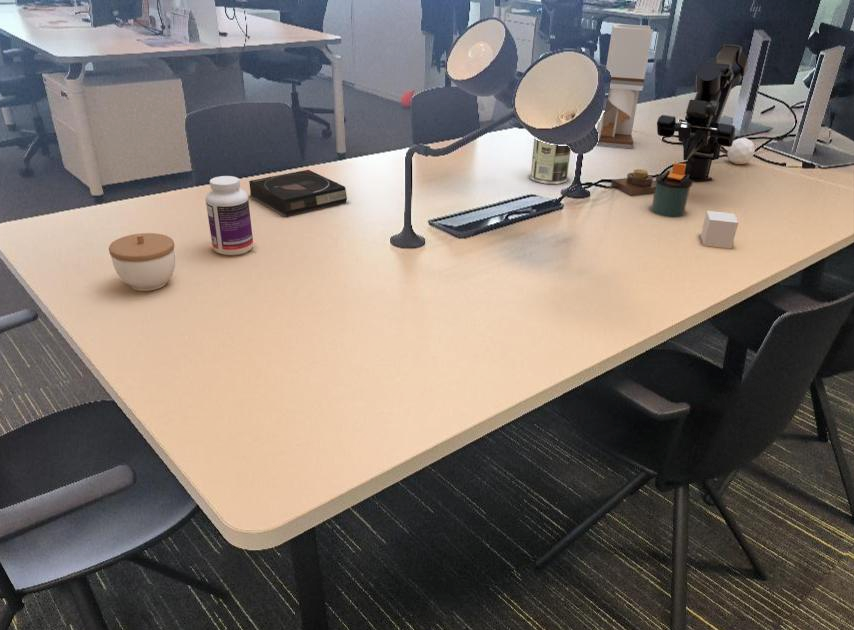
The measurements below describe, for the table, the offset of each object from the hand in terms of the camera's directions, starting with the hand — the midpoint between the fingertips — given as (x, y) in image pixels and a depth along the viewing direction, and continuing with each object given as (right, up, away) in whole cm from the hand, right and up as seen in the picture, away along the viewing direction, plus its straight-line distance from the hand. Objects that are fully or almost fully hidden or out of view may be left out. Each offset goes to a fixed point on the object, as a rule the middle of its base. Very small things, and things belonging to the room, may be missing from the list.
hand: (684, 159), depth 175 cm
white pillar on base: (-5, +20, +55) cm, 58 cm away
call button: (-8, -2, +12) cm, 15 cm away
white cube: (+1, -24, -18) cm, 29 cm away
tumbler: (-5, -13, -1) cm, 14 cm away
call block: (-8, -4, +13) cm, 16 cm away
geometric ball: (+30, +9, +40) cm, 51 cm away
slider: (-4, -5, -4) cm, 8 cm away
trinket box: (-114, -36, -48) cm, 129 cm away
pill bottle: (-103, -27, -33) cm, 112 cm away
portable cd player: (-96, -12, -6) cm, 96 cm away
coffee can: (-32, -1, +18) cm, 36 cm away
